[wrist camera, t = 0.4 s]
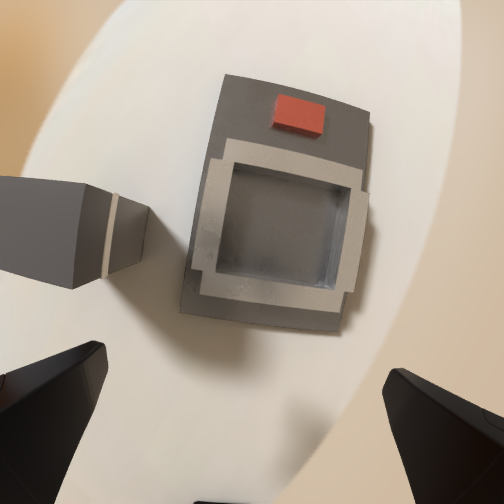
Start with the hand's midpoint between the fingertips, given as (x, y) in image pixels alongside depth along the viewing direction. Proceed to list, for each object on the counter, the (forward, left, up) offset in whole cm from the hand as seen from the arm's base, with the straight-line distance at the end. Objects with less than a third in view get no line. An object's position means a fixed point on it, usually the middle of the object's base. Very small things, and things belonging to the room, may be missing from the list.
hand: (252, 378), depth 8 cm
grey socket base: (+7, -3, -13) cm, 15 cm away
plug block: (+3, +9, -14) cm, 17 cm away
